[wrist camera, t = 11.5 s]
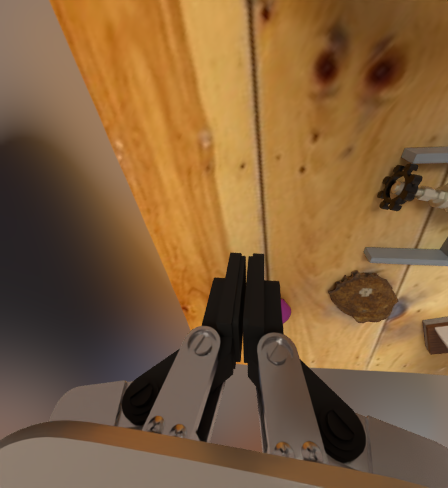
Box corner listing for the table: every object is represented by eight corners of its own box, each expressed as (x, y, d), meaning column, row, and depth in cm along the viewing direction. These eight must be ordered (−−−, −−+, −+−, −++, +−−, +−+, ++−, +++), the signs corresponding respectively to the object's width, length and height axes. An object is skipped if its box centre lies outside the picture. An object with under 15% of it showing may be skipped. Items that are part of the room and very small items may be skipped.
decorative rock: (403, 300, 47) (370, 258, 43) (415, 316, 44) (379, 271, 39) (352, 320, 53) (317, 284, 48) (359, 335, 49) (322, 298, 45)
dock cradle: (404, 148, 30) (416, 153, 28) (520, 144, 28) (543, 149, 25) (363, 252, 41) (369, 262, 38) (444, 255, 39) (455, 266, 36)
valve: (482, 173, 30) (397, 156, 31) (527, 192, 25) (424, 171, 26) (445, 214, 35) (371, 198, 35) (478, 237, 29) (390, 219, 30)
